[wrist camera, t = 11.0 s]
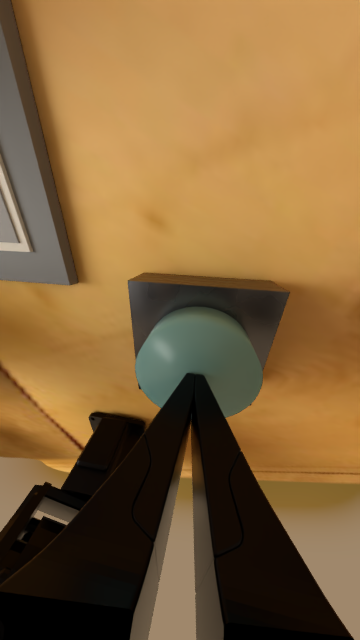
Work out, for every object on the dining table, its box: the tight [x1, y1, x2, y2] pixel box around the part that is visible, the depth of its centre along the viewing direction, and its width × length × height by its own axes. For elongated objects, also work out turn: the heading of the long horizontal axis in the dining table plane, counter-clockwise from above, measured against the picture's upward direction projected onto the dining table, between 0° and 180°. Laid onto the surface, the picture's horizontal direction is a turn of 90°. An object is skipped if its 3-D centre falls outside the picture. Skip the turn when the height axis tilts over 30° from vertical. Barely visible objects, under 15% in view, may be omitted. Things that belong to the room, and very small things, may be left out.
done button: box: [135, 307, 263, 418], centre depth 9 cm, size 6×6×2 cm
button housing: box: [128, 273, 290, 405], centre depth 11 cm, size 8×8×2 cm
